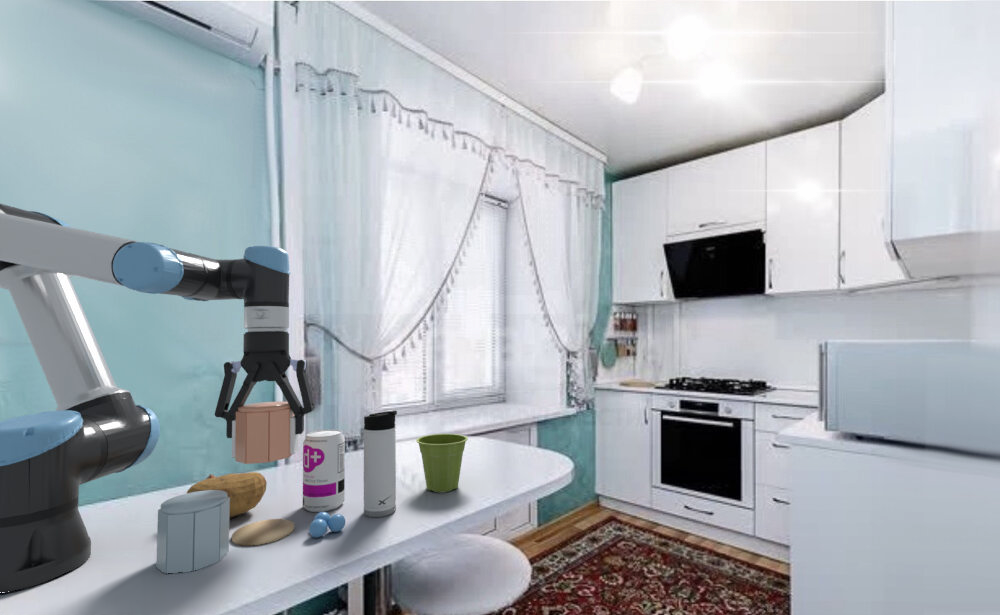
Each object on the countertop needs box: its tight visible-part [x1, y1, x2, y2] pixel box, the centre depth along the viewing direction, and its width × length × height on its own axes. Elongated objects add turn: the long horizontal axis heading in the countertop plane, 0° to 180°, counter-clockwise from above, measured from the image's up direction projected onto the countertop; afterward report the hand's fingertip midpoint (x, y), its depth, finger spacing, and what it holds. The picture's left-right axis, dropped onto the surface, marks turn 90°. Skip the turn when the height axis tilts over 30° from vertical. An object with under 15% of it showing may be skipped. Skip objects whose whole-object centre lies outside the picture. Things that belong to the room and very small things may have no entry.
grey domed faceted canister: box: [155, 490, 230, 575], centre depth 74 cm, size 9×9×9 cm
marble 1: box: [312, 511, 332, 528], centre depth 85 cm, size 3×3×3 cm
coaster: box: [231, 518, 295, 547], centre depth 83 cm, size 10×10×1 cm
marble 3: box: [327, 513, 346, 533], centre depth 83 cm, size 3×3×3 cm
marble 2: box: [308, 519, 328, 538], centre depth 81 cm, size 3×3×3 cm
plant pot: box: [416, 433, 469, 493], centre depth 107 cm, size 12×12×11 cm
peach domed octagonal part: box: [234, 400, 294, 465], centre depth 84 cm, size 9×9×9 cm
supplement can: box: [302, 429, 346, 513], centre depth 97 cm, size 8×8×15 cm
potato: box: [186, 471, 267, 519], centre depth 91 cm, size 10×14×8 cm
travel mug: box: [363, 410, 398, 518], centre depth 93 cm, size 6×7×20 cm
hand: (265, 454), depth 84 cm, fingers closed on peach domed octagonal part, 9 cm apart
